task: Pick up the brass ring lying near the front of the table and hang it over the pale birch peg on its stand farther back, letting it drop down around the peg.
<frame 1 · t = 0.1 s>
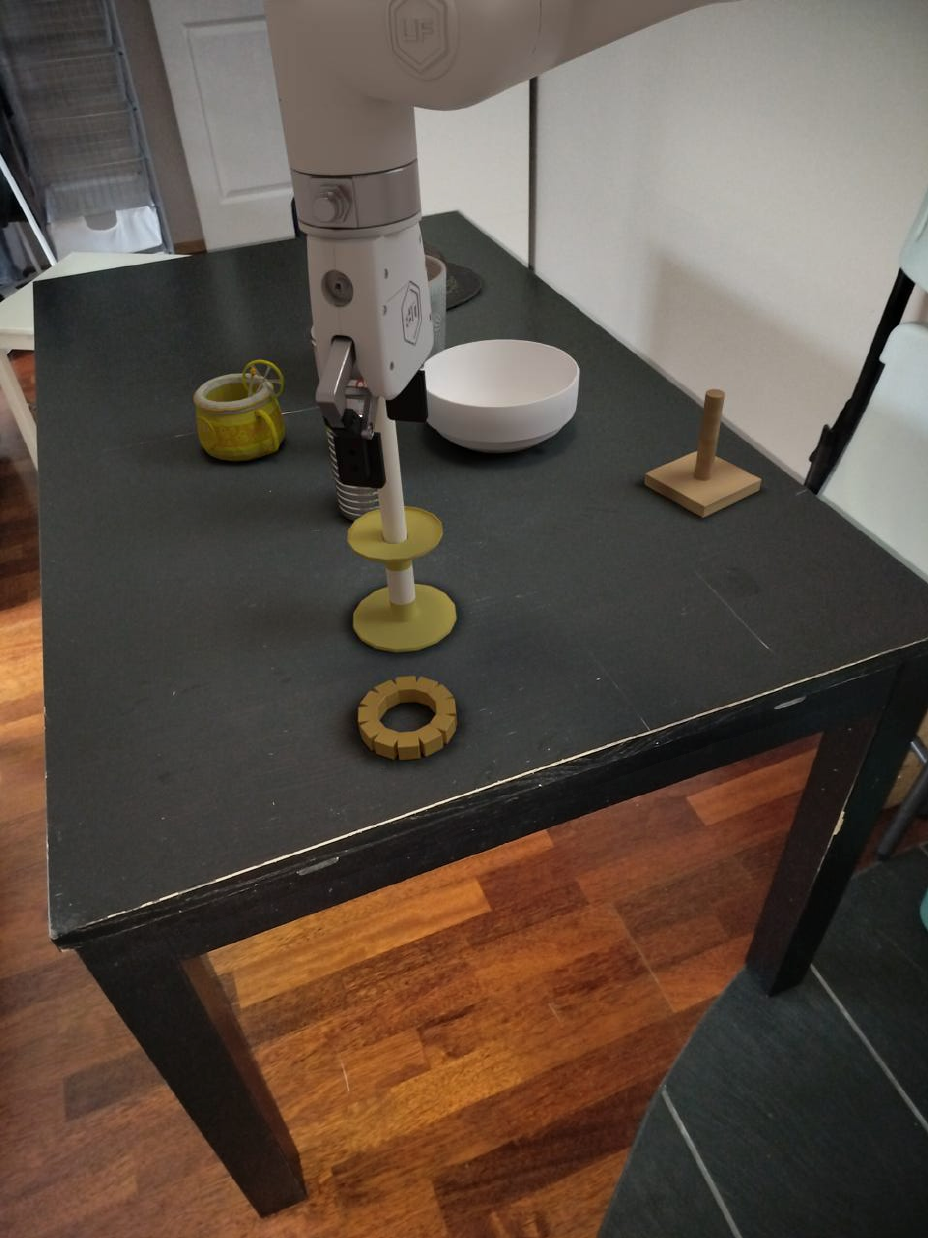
hand: (387, 450, 62), 22 cm above the table, tool pointing down, fingers open, 9 cm apart
peg stand: (701, 487, 97), on the table
bowl: (499, 435, 110), on the table
candle: (404, 619, 82), on the table
water bottle: (369, 510, 97), on the table
mug: (250, 450, 110), on the table
ring: (408, 723, 71), on the table
planter: (393, 380, 124), on the table
hat: (405, 291, 153), on the table
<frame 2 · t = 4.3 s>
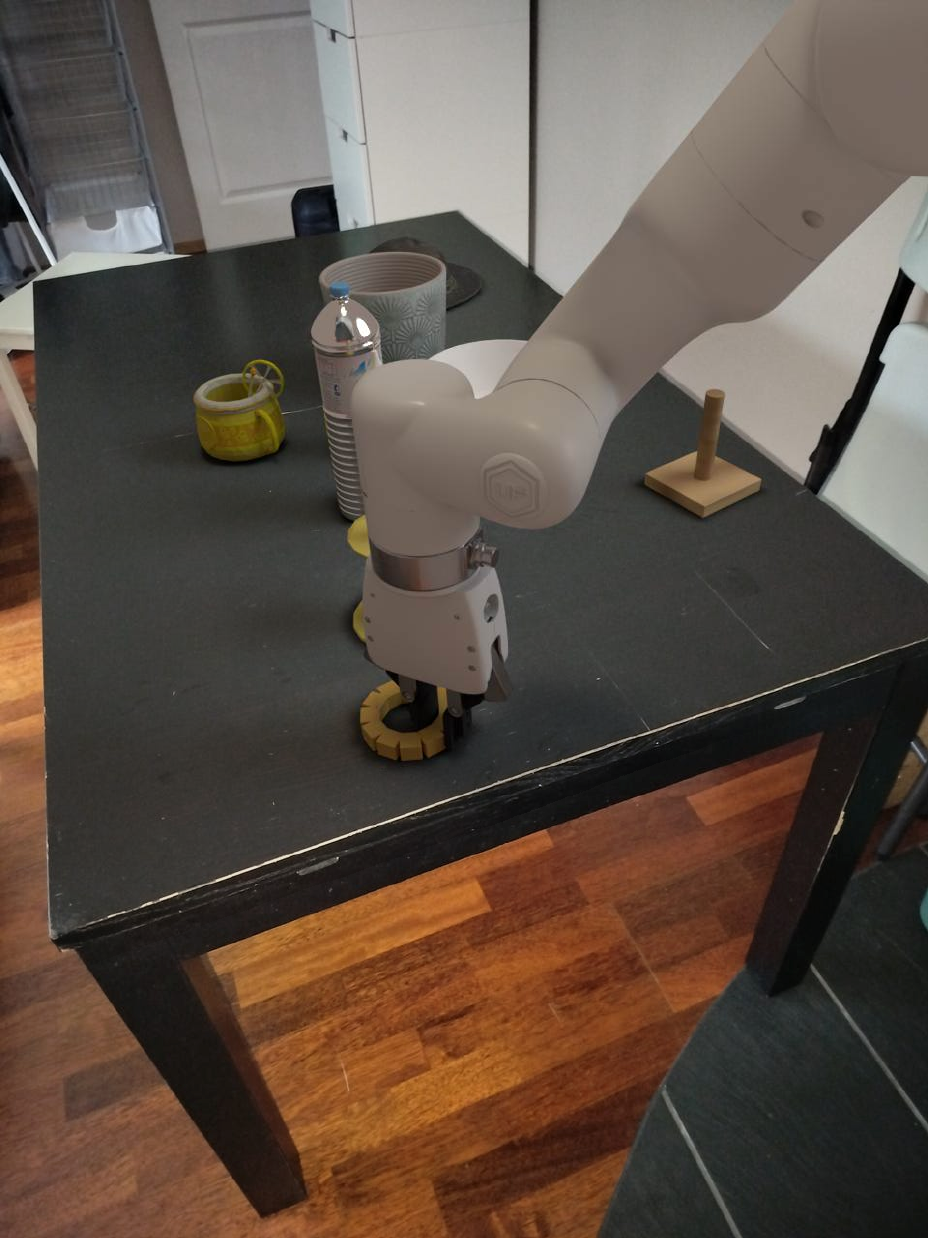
hand: (442, 731, 70), 0 cm above the table, tool pointing down, fingers closed on ring, 2 cm apart
ring: (410, 724, 71), on the table, touching gripper
everything else where it was.
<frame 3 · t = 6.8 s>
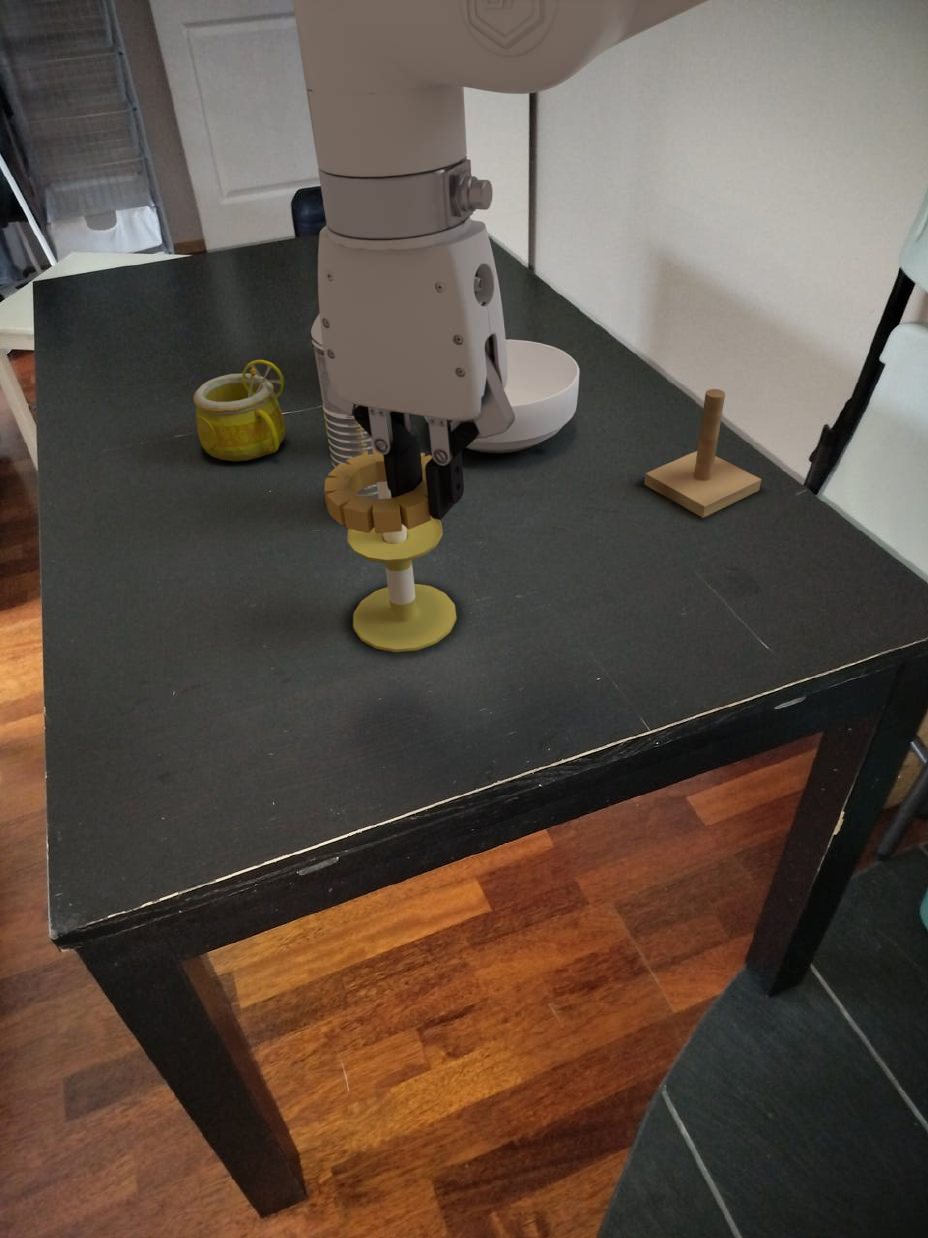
hand: (426, 502, 56), 22 cm above the table, tool pointing down, fingers closed on ring
ring: (388, 499, 57), point 22 cm above the table, touching gripper
everything else where it was.
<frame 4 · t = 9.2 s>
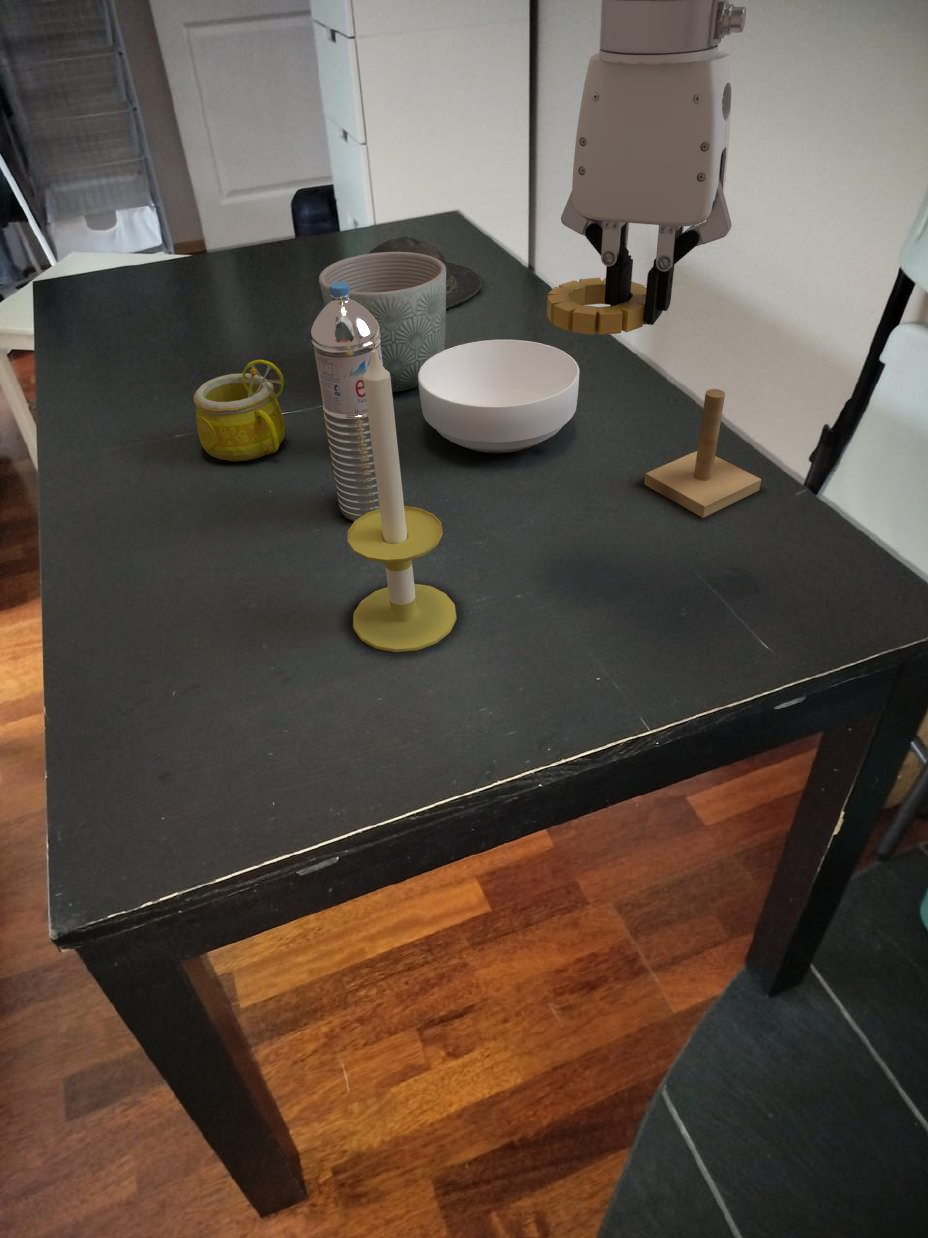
hand: (636, 314, 66), 27 cm above the table, tool pointing down, fingers closed on ring
ring: (598, 315, 68), point 27 cm above the table, touching gripper
everything else where it was.
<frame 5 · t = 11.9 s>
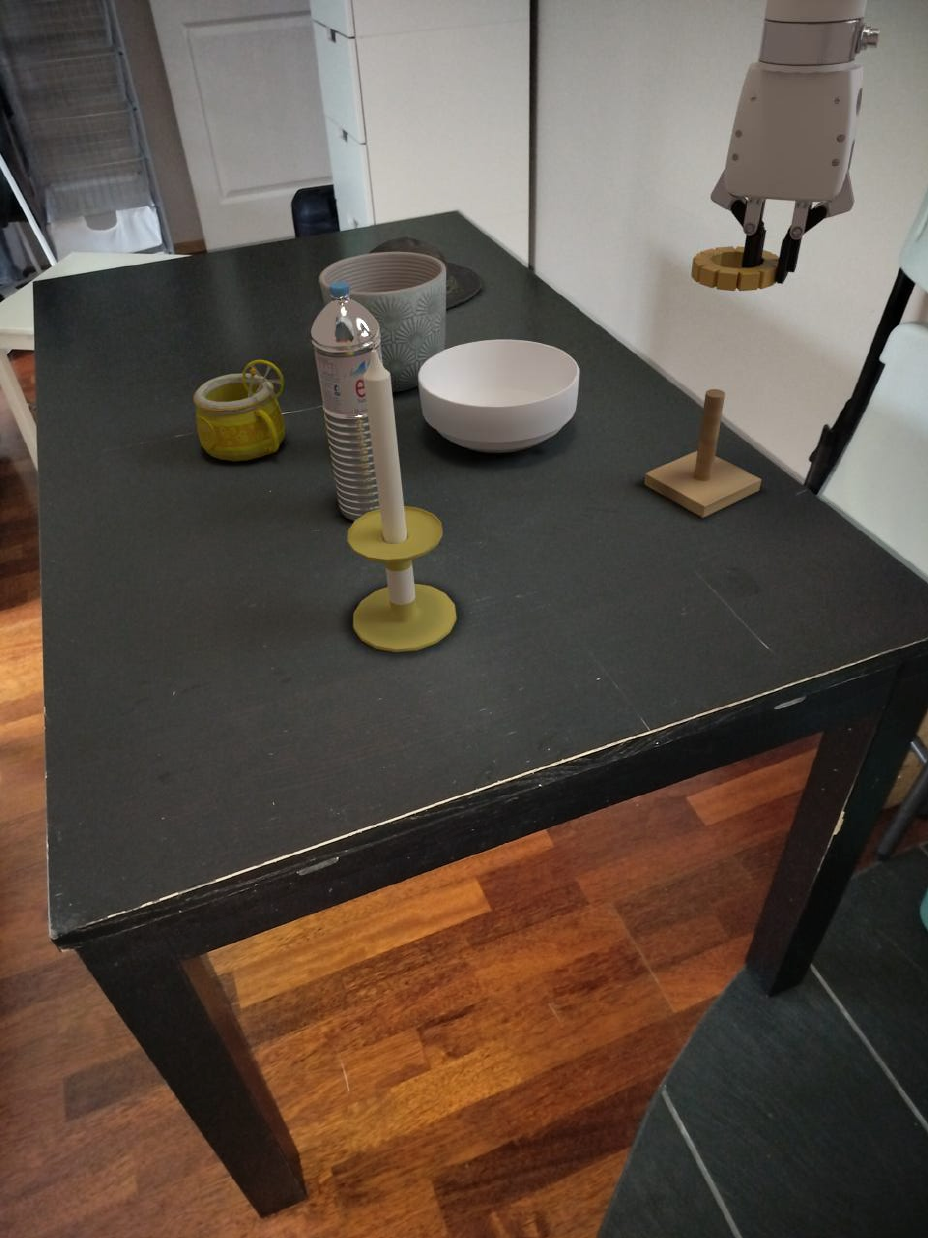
hand: (766, 275, 81), 24 cm above the table, tool pointing down, fingers closed on ring
ring: (734, 276, 82), point 23 cm above the table, touching gripper
everything else where it was.
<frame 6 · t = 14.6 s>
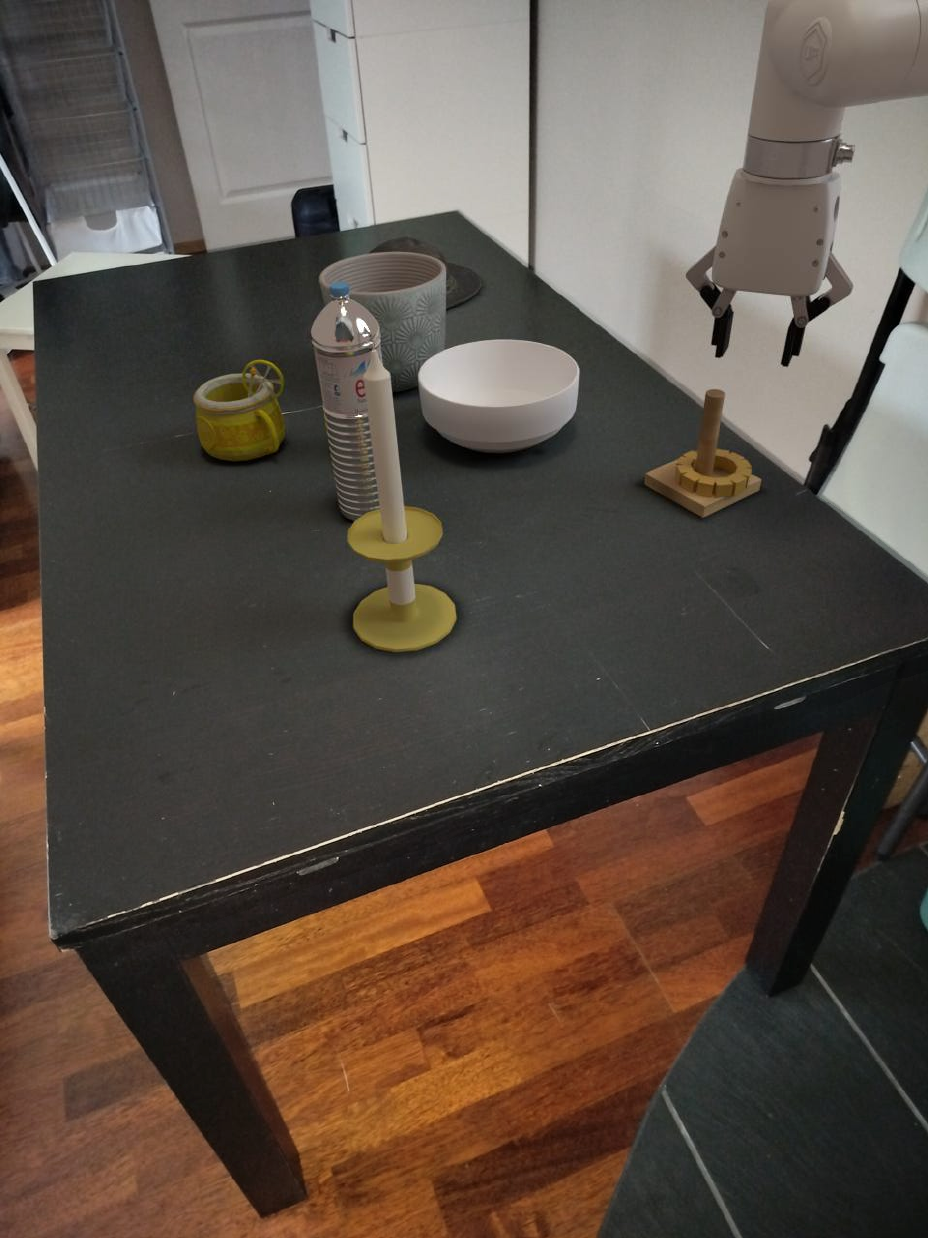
hand: (753, 355, 86), 16 cm above the table, tool pointing down, fingers open, 5 cm apart
ring: (711, 478, 96), point 1 cm above the table, touching peg stand
everything else where it was.
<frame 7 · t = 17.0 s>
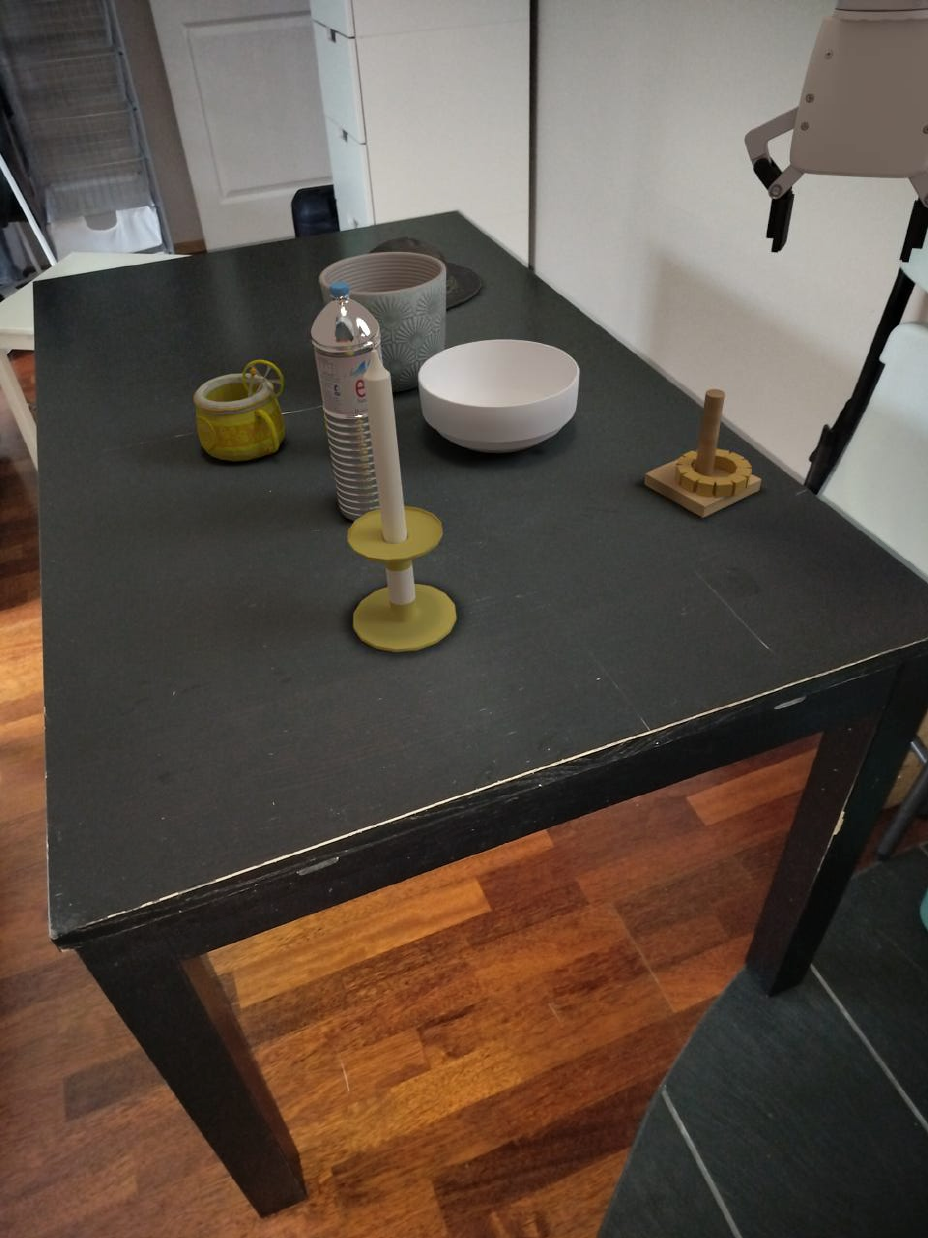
hand: (840, 252, 69), 29 cm above the table, tool pointing down, fingers open, 9 cm apart
nothing on the table moved.
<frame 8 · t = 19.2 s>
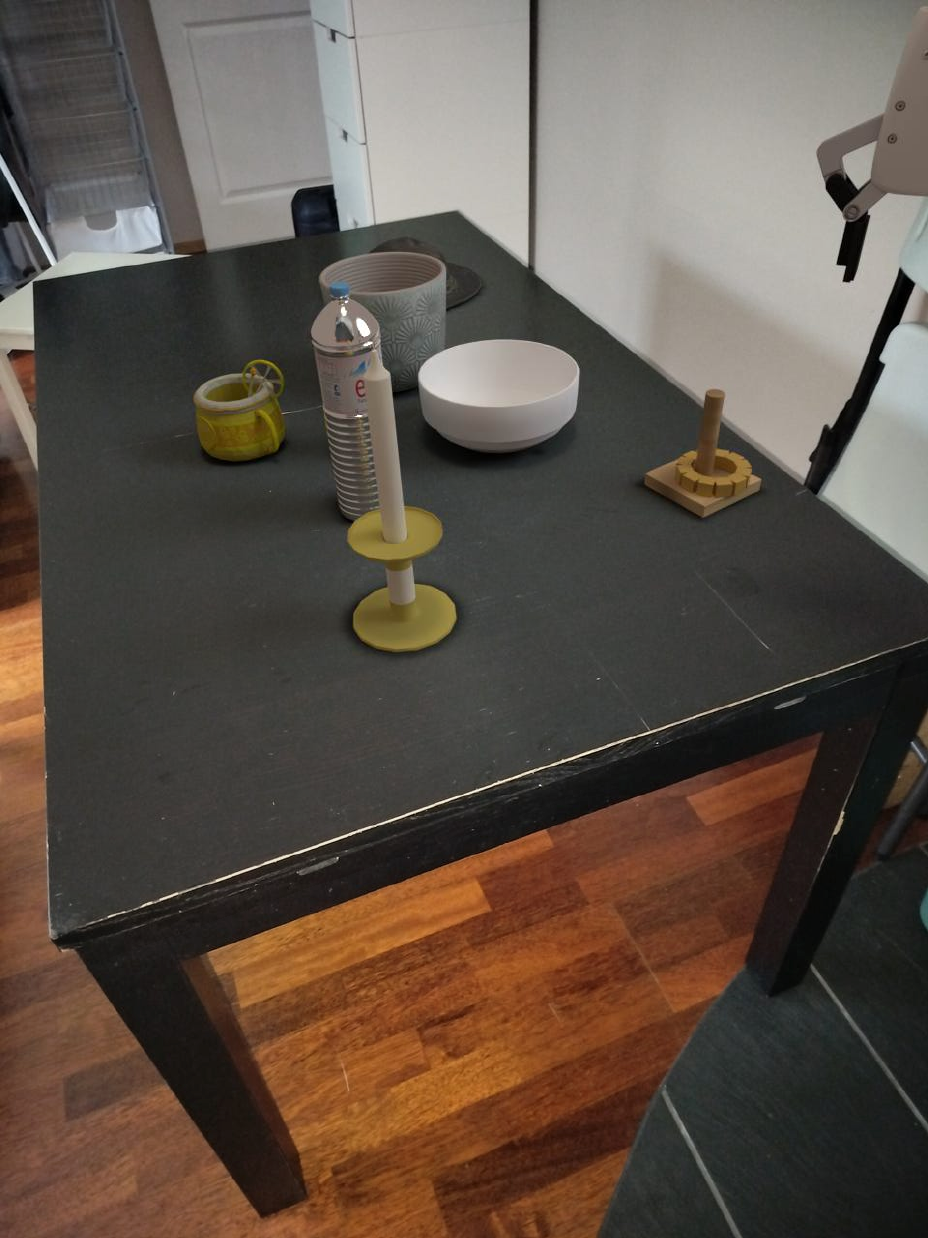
hand: (922, 283, 60), 30 cm above the table, tool pointing down, fingers open, 9 cm apart
nothing on the table moved.
at the end: ring 1.1 cm from the peg stand (horizontally); ring point 1.5 cm above the table; the gripper is holding nothing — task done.
